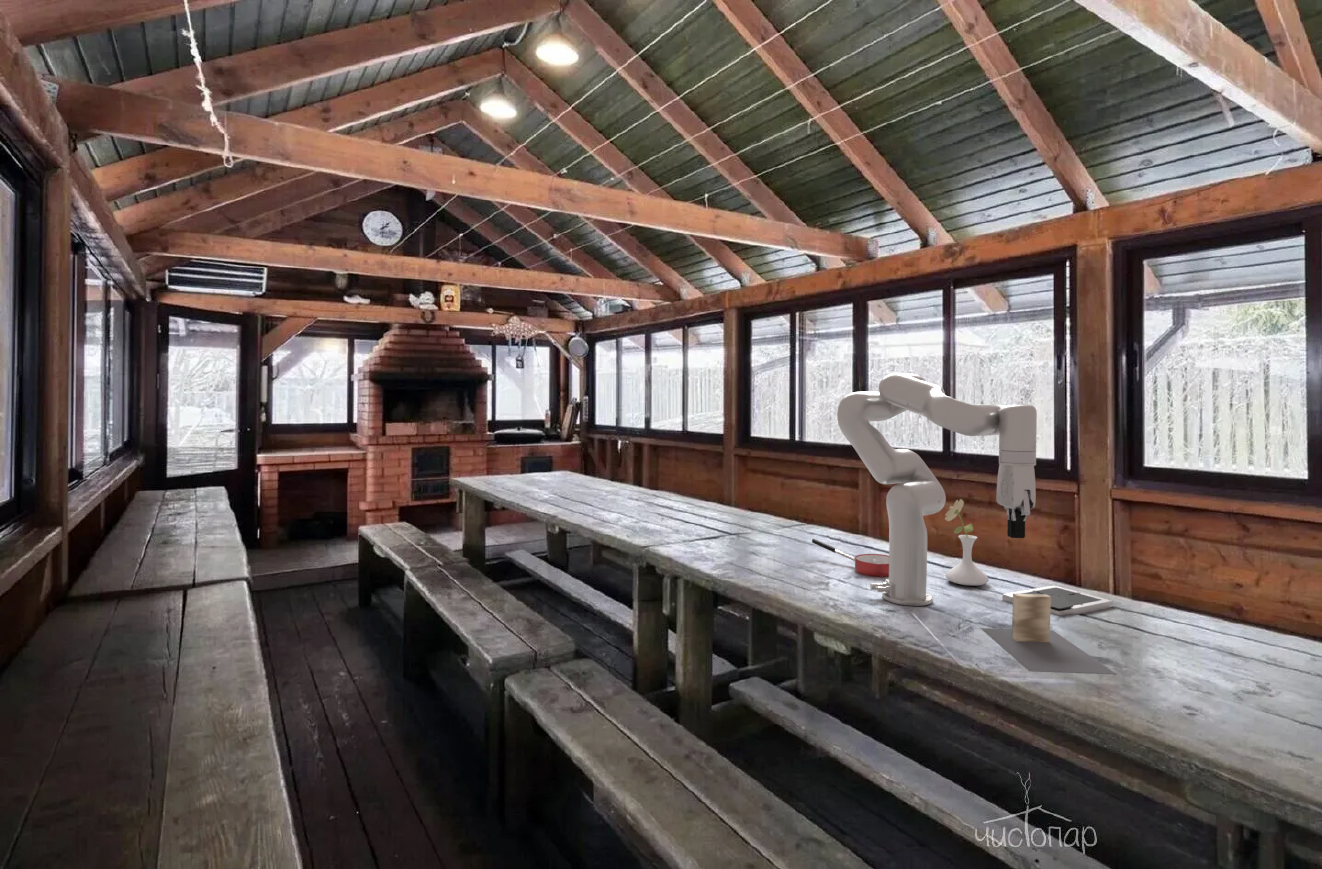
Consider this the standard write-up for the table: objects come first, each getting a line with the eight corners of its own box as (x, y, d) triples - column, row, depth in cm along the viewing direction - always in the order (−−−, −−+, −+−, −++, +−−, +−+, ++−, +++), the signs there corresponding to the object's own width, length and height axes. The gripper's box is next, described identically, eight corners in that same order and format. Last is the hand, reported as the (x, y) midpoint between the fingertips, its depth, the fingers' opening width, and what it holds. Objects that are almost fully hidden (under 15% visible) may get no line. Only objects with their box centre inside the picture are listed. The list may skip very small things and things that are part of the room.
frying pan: (796, 561, 216) (797, 542, 216) (819, 554, 225) (819, 536, 224) (885, 580, 192) (885, 559, 192) (906, 572, 201) (907, 552, 201)
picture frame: (1059, 619, 159) (1112, 608, 167) (1059, 608, 158) (1112, 598, 167) (1002, 601, 173) (1053, 592, 181) (1002, 591, 173) (1054, 582, 181)
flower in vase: (967, 576, 196) (969, 494, 195) (997, 586, 185) (999, 500, 184) (932, 580, 192) (933, 496, 191) (961, 591, 181) (963, 502, 180)
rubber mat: (1029, 673, 126) (1029, 670, 126) (980, 630, 150) (980, 627, 150) (1116, 676, 124) (1116, 673, 124) (1052, 632, 148) (1052, 630, 148)
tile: (1016, 641, 141) (1017, 596, 141) (1011, 637, 143) (1013, 593, 143) (1049, 642, 141) (1050, 597, 140) (1045, 638, 143) (1046, 594, 142)
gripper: (986, 456, 157) (986, 531, 157) (1014, 461, 142) (1013, 543, 143) (1019, 456, 156) (1018, 531, 157) (1050, 461, 141) (1049, 544, 142)
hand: (1016, 537), depth 150 cm, fingers closed
